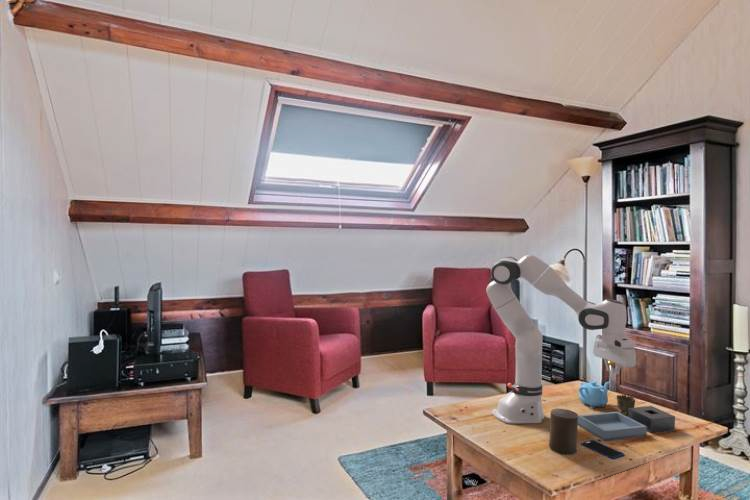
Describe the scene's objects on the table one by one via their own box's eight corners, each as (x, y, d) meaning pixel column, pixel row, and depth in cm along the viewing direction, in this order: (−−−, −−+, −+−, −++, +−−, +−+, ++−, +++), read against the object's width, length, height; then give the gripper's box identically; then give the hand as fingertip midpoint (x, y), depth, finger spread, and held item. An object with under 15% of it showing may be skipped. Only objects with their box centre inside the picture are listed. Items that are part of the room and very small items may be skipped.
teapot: (576, 406, 221) (577, 383, 220) (581, 396, 233) (581, 374, 232) (606, 412, 214) (606, 389, 213) (609, 401, 226) (610, 379, 225)
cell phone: (592, 441, 184) (592, 439, 184) (625, 456, 172) (625, 454, 172) (579, 445, 180) (579, 443, 180) (613, 460, 168) (613, 458, 168)
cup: (637, 418, 206) (637, 400, 206) (619, 417, 208) (619, 399, 207) (631, 412, 214) (632, 395, 213) (614, 410, 215) (614, 393, 215)
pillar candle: (563, 456, 170) (564, 416, 169) (543, 445, 179) (545, 406, 178) (582, 452, 174) (584, 412, 173) (562, 441, 183) (564, 403, 182)
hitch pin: (611, 392, 190) (612, 362, 190) (604, 389, 194) (605, 360, 194) (619, 391, 191) (620, 362, 191) (612, 388, 195) (613, 359, 195)
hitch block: (650, 433, 191) (651, 418, 191) (628, 421, 203) (628, 408, 202) (674, 430, 194) (675, 416, 194) (650, 419, 206) (651, 405, 205)
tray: (604, 441, 183) (604, 431, 183) (577, 424, 199) (577, 415, 199) (646, 436, 188) (646, 426, 188) (616, 420, 204) (617, 411, 203)
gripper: (589, 333, 201) (588, 365, 202) (625, 345, 181) (624, 380, 182) (602, 333, 203) (601, 364, 203) (639, 344, 183) (638, 379, 184)
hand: (612, 372), depth 193 cm, fingers closed on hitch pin, 2 cm apart
